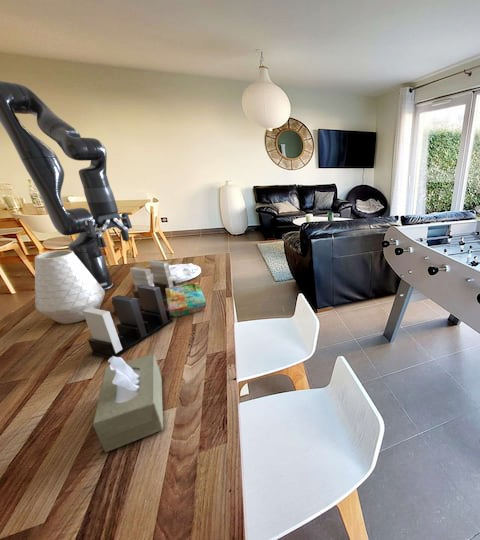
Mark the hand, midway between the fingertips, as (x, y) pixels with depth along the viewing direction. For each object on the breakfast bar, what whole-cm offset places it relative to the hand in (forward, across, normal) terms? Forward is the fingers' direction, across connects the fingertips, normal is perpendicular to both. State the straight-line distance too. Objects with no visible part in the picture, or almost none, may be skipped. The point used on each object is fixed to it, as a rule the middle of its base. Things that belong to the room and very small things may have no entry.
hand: (114, 243), depth 107 cm
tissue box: (+23, +42, +52) cm, 71 cm away
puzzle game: (+23, -2, +25) cm, 34 cm away
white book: (+22, +28, +26) cm, 44 cm away
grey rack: (+23, +20, +26) cm, 40 cm away
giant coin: (+22, -22, +1) cm, 31 cm away
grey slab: (+22, +1, +10) cm, 24 cm away
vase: (+22, +16, -4) cm, 28 cm away
